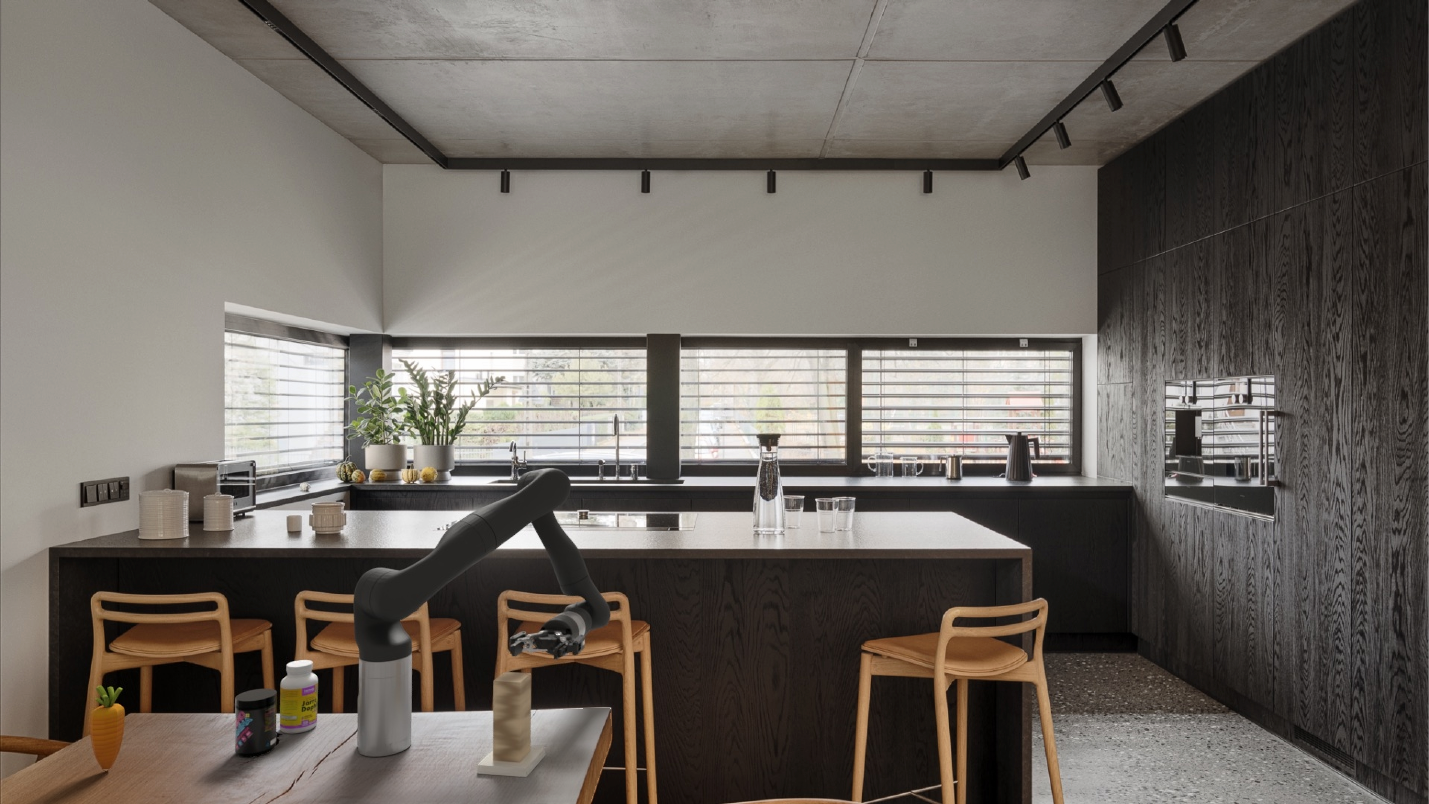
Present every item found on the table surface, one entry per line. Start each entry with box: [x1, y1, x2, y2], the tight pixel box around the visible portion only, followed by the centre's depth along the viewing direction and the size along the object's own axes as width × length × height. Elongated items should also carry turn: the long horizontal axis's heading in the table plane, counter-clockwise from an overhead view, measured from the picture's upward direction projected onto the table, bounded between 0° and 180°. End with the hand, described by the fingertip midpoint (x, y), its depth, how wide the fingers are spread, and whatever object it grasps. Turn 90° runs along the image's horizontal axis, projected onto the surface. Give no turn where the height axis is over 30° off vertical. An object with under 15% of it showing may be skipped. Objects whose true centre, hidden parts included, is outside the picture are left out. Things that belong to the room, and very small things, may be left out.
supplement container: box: [234, 688, 278, 759], centre depth 150 cm, size 7×7×10 cm
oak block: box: [492, 671, 532, 762], centre depth 145 cm, size 5×5×14 cm
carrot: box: [89, 685, 126, 770], centre depth 141 cm, size 5×5×15 cm
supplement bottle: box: [279, 659, 319, 734], centre depth 161 cm, size 7×7×13 cm
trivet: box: [476, 745, 546, 778], centre depth 144 cm, size 9×9×2 cm
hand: (534, 652), depth 155 cm, fingers open, 8 cm apart
